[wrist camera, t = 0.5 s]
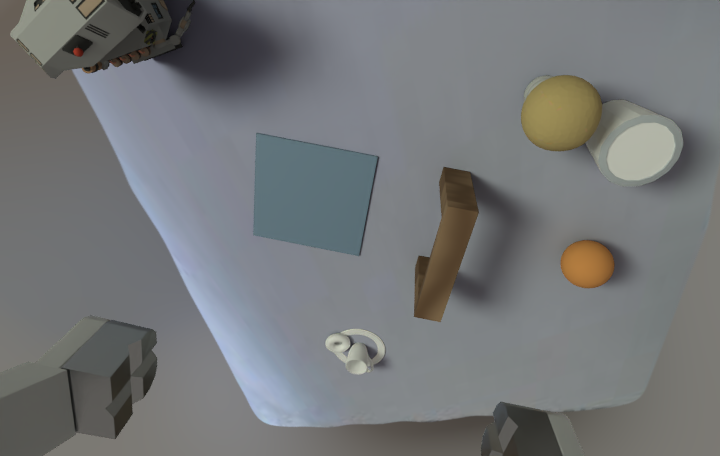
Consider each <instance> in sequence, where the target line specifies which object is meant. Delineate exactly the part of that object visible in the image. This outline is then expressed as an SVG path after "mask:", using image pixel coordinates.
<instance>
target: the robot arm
mask: <svg viewBox="0 0 720 456" xmlns="http://www.w3.org/2000/svg"><path fill="white" fill-rule="evenodd" d="M156 343H157V338H156V332H155V331H154V330H153V329H149V328H144V327H141V326H136V325H132V324H128V323H123V322H119V321H115V320H108V319H104V318H100V317H95V316H92V315H90V316H88V317H85V318H83V319H82V320H81V321H80V322H78V323H77V324H76V325H75V326H74V327H73V328H72V329H71V330H70V331H69V332H68V333H67V334H66V335H65V336H63V337H62V338H61V339H60V340H59V341H58V342H57V343H56V344H55V345H54V346H53V347H52V348H51V349H50V350H49V351H47V352H46V353H45V354H44V355H43V356H42V357H41V358H40V359H39V360H38V361H37V362H36V363H31V362H26V363H24V364H21V365H19V366H16V367H13V368H11V369H9V370H6V371H3V372H0V456H43V455H45V454H46V453H48V452H50V451H51V450H53V449H54V448H56V447H57V446H59V445H60V444H62V443H63V442H65V441H67V440H68V439H70V438H71V437H73V436H74V435H75V434H76V432H77V433H82V434H88V435H94V436H99V437H105V438H111V439H116V438H117V436H118V435H119V433H120V432H121V430H122V429H123V427H124V426H125V424H126V423H127V422H128V420H129V419H130V417H131V415H132V414H133V412H132V404H134V403H135V402H137V401H139V400H141V399H143V398H144V397H145V395H146V393H147V392H148V390H149V389H150V387H151V385H152V382H153V380H154V377H155V374H156V369H157V357H156V355H155V354H154V353H153V351H152V349H153V347H154V346H155V345H156ZM493 415H494V420H495V422H494V423H492V424H490V425H488V426H487V427H486V430H485V432H484V435H483V439H482V445H481V456H585V455H584V453H583V450H582V448H581V446H580V443H579V441H578V438H577V436H576V434H575V431H574V429H573V427H572V424H571V422H570V420H569V418H568V417H567V416H566V415H565V414H561V413H556V412H551V411H546V410H540V409H535V408H530V407H525V406H520V405H515V404H510V403H505V402H500V403H499V404H497V406H496V408H495V410H494V412H493Z"/></svg>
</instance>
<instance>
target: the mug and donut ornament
mask: <svg viewBox="0 0 720 456" xmlns="http://www.w3.org/2000/svg"><path fill="white" fill-rule="evenodd" d="M353 334H361V335H365V336H367V337H369V338H371V339H372V340H374V341H375V343H376V344H377V346H378V353H377V355H376V356H375V357H374V358H373V359H371V358H370V357H369V355H368V351H367V348H366V346H365V345H364V344H362V343H355V344H354V345H353V346H352V347H351V349H350V351H349V354H348V358H347V357H346V356H345V355H344V354H343V353H342V352H344V351H346V350H347V349H348V348H349V347H350V339H349V338H348V337H347V336H349V335H353ZM340 343H342V344H340ZM326 347H327V349H328V350H330V351H332V352H334V353H335V354H336V356H337V357H338V358H339V359H340V360H342V361H343V362H345V363H346V369H347V370H348V371H349V372H351V373H353V374H363V373H365V372H368V373H370V372H372V371H373V369H374V367H373V365H375V364H377V363H378V362H380V361H381V360H382V358H383V357H384V355H385V346H384V343H383V342H382V340H381V339H380V338H379V337H378V336H377V335H375V334H373V333H372V332H369V331H366V330H362V329H349V330H346V331H343V332H341V333H336V334H332V335H330V336H329V337H328V338H327V340H326ZM368 366H371V370H369V369H368V368H367V367H368Z"/></svg>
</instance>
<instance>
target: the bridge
mask: <svg viewBox="0 0 720 456" xmlns="http://www.w3.org/2000/svg"><path fill="white" fill-rule="evenodd" d="M439 186H440V200H441V213H442V219H441V222H440V225H439V229H438V232H437V235H436V239H435V242H434V245H433V249H432V252H431V256H430V258H429V257H424V256H418V260H417V264H416V267H415V303H414V317H418V318H423V319H428V320H433V321H438V322H441V319H442V316H443V313H444V311H445V308H446V305H447V302H448V299H449V296H450V293H451V290H452V288H453V285H454V282H455V279H456V276H457V273H458V270H459V268H460V265H461V262H462V259H463V256H464V253H465V250H466V248H467V245H468V242H469V239H470V236H471V233H472V230H473V228H474V225H475V222H476V219H477V216H478V213H479V211H478V206H477V202H476V197H475V193H474V188H473V184H472V179H471V174H470V172H468V171H462V170H457V169H452V168H447V167H443V171H442V175H441V178H440V182H439Z"/></svg>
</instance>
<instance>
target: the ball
mask: <svg viewBox="0 0 720 456" xmlns="http://www.w3.org/2000/svg"><path fill="white" fill-rule="evenodd" d="M561 269H562V272H563V274H564V276H565V277H566V278H567V279H568V280H569V281H570V282H571V283H572V284H574V285H576V286H579V287H582V288H595V287H598V286H601V285H603V284H604V283H606V282H607V281H608V280H609V279H610V277H611V276H612V274H613V271H614V259H613V256H612V254H611V253H610V251H609V250H608V249H607V248H606V247H605V246H604V245H602V244H600V243H598V242H595V241H590V240H582V241H578V242H575V243H573V244H571V245H570V246H569V247H568V248H567V249H566V250H565V251H564V253H563V255H562V257H561Z"/></svg>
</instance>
